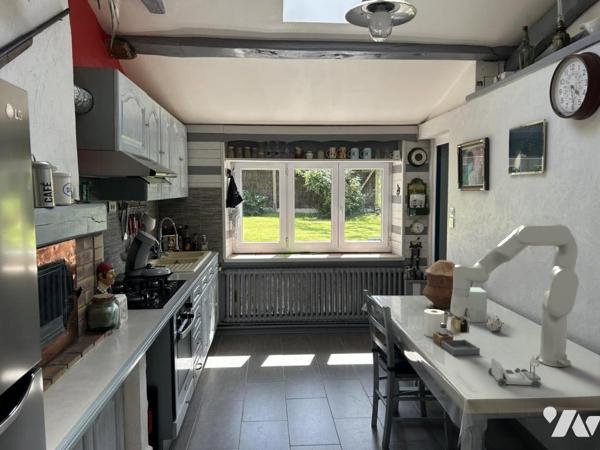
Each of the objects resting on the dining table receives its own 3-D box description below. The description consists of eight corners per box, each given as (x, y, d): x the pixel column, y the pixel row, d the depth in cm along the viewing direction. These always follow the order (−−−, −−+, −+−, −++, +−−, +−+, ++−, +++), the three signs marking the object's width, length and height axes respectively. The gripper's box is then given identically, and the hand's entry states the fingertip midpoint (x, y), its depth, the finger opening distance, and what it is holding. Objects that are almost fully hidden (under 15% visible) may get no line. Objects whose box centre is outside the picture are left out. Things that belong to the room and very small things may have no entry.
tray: (479, 354, 198) (479, 348, 198) (453, 356, 196) (454, 349, 196) (465, 345, 211) (465, 339, 210) (440, 346, 209) (441, 340, 208)
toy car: (535, 352, 175) (548, 363, 164) (534, 376, 176) (547, 389, 165) (488, 350, 177) (498, 361, 166) (487, 374, 178) (497, 386, 166)
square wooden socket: (453, 345, 211) (453, 336, 210) (439, 346, 209) (439, 337, 209) (446, 340, 217) (446, 331, 217) (432, 341, 216) (433, 332, 216)
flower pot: (429, 329, 236) (429, 313, 235) (432, 325, 244) (433, 309, 243) (447, 332, 231) (448, 316, 231) (450, 327, 240) (450, 311, 239)
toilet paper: (428, 330, 235) (428, 307, 234) (447, 334, 228) (447, 311, 227) (420, 334, 227) (420, 311, 226) (439, 338, 220) (440, 315, 220)
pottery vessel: (414, 303, 291) (415, 259, 289) (443, 300, 302) (444, 256, 300) (441, 313, 268) (443, 264, 266) (473, 309, 278) (474, 262, 276)
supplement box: (479, 316, 262) (480, 287, 261) (486, 322, 249) (487, 292, 248) (456, 315, 264) (457, 286, 263) (462, 321, 251) (463, 291, 250)
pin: (447, 344, 212) (448, 324, 211) (441, 344, 212) (442, 324, 211) (444, 342, 215) (445, 322, 214) (438, 342, 215) (439, 322, 214)
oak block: (469, 333, 200) (469, 320, 200) (457, 333, 200) (457, 320, 199) (462, 329, 206) (462, 316, 206) (450, 329, 205) (451, 316, 205)
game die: (497, 339, 232) (506, 327, 225) (481, 332, 233) (490, 321, 227) (497, 327, 238) (506, 315, 232) (482, 320, 240) (490, 309, 233)
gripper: (444, 287, 210) (443, 324, 211) (463, 296, 193) (462, 336, 194) (459, 287, 211) (458, 324, 212) (479, 295, 194) (477, 335, 195)
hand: (459, 329), depth 203 cm, fingers closed on oak block, 6 cm apart
